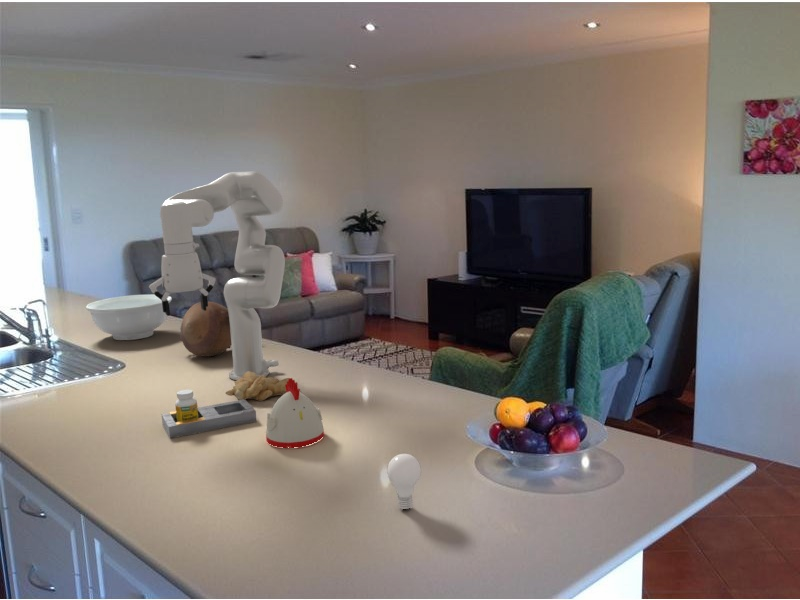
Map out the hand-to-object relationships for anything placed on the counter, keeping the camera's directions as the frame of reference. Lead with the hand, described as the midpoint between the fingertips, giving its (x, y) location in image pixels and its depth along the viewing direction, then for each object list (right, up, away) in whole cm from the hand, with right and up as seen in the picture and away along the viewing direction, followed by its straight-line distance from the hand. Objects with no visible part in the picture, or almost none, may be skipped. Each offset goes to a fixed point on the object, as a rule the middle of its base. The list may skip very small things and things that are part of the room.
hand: (186, 312), depth 197 cm
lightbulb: (+59, -37, -57) cm, 90 cm away
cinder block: (+8, -29, -6) cm, 31 cm away
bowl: (-50, -12, +98) cm, 111 cm away
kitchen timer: (+32, -31, -19) cm, 48 cm away
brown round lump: (-7, -16, +68) cm, 70 cm away
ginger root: (+17, -25, +14) cm, 33 cm away
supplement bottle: (+3, -30, -9) cm, 31 cm away
